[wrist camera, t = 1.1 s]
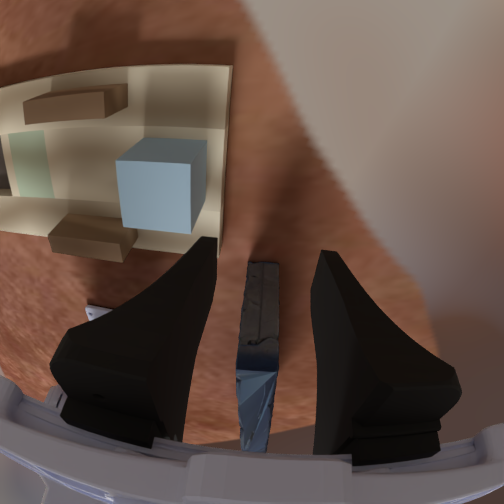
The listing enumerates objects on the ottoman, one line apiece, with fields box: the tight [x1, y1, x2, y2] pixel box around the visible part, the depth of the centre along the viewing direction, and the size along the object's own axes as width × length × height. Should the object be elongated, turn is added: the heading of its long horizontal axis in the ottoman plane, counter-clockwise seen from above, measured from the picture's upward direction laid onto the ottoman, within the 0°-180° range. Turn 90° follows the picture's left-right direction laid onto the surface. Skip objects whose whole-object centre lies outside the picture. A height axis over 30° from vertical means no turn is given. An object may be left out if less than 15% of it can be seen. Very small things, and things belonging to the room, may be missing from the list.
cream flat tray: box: [0, 64, 233, 263], centre depth 19 cm, size 13×24×4 cm, turn 85°
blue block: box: [115, 138, 207, 234], centre depth 18 cm, size 4×4×4 cm
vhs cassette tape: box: [236, 261, 280, 453], centre depth 26 cm, size 18×3×10 cm, turn 178°
